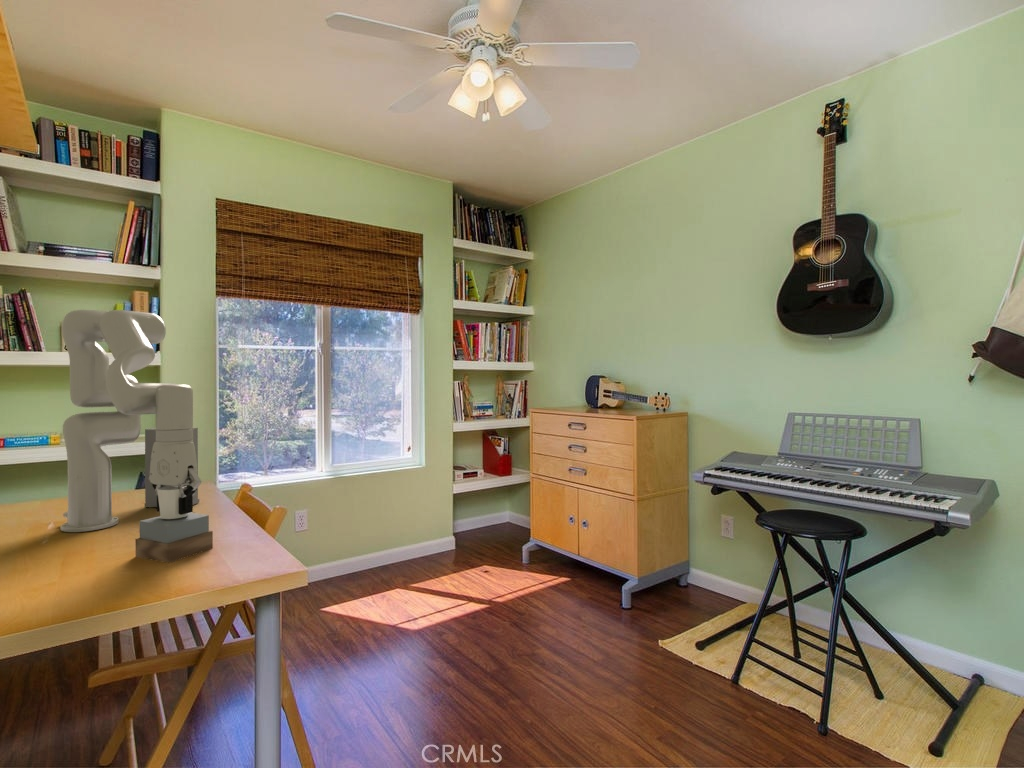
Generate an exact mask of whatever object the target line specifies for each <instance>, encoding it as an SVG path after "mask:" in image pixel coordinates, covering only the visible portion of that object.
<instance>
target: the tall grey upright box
mask: <svg viewBox="0 0 1024 768" xmlns="http://www.w3.org/2000/svg"><path fill="white" fill-rule="evenodd" d="M198 434H199V431H198V427H193V442H194V446H195V452H196V460H197V475H198V476H199V467H198V466H199V463H198V462H199V452H198V451H199V447H198V446H199V436H198ZM154 442H156V427H152V428H146V429H144V448H145V449H144V451H145V452H144V455H145V456H144V466H145V467H144V475H145V476H144V477H145V479H144V480H145V481H144V482H145V483H144V485H145V486H144V490H145V491H144V493H145V494H144V495H145V497H144V498H145V499H144V500H145V503H144V508H146V507H149V508H157V495H156V494H155V489H154V488H153V486H152V483H151V482H150V480H149V476H150V462H151V454H152V448H153V444H154ZM197 504H200V498H199V487H198V488H197V490H196V491H195V494H194V495H193V506H194V505H197Z"/></svg>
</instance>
